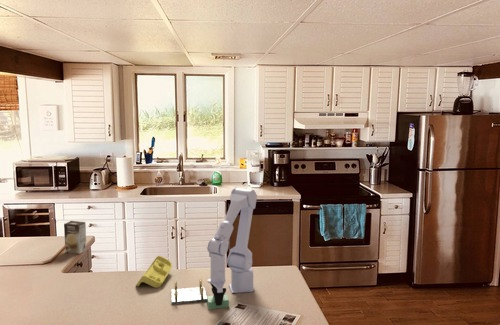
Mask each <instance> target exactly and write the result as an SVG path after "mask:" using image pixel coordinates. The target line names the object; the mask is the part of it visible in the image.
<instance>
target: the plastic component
mask: <svg viewBox="0 0 500 325" xmlns="http://www.w3.org/2000/svg"><path fill="white" fill-rule="evenodd" d="M172 267H173V264H172V262H171V261H170V260H169V259H168V258H166V257H163V256H161V255H157V256H156V257H155V259H154V260H153V261H152V263H151V264H150V265H149V267H148V268H147V270H146V271H145V273H144V274H143V275H142V276H141V278H140V279H139V281H137V283H136V284H135V286H136V287H140V285H141V283H145V284H147V285H149V286H151V287H153V288H156V289H158V288H161V286H162V285H163V284H164V282H165V280H166V279H167V277H168V275H169V273H170V272H171V270H172Z"/></svg>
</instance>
